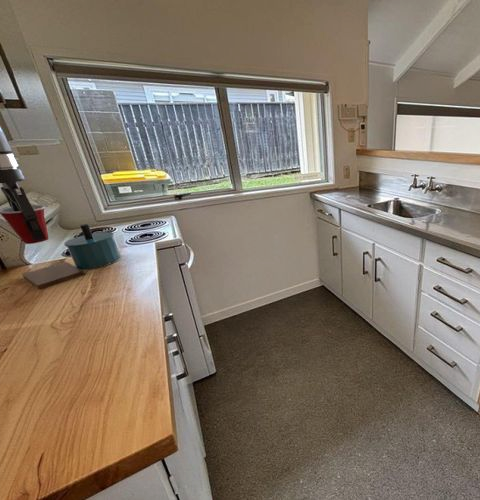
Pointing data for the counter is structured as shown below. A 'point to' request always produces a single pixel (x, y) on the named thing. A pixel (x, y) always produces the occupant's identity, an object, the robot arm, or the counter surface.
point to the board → (53, 275)
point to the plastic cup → (21, 227)
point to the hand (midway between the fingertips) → (35, 237)
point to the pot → (95, 254)
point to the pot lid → (88, 237)
